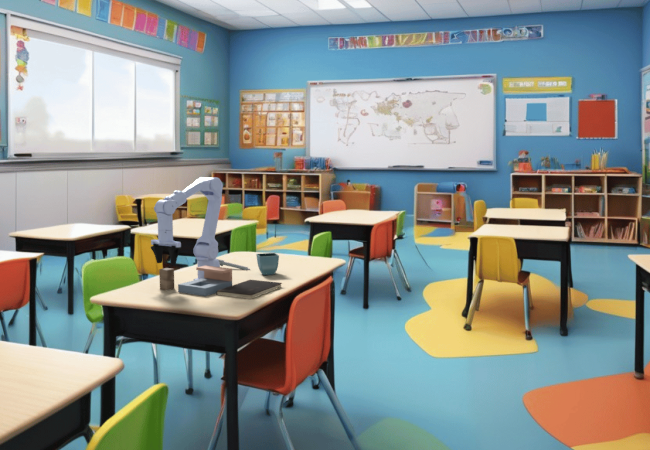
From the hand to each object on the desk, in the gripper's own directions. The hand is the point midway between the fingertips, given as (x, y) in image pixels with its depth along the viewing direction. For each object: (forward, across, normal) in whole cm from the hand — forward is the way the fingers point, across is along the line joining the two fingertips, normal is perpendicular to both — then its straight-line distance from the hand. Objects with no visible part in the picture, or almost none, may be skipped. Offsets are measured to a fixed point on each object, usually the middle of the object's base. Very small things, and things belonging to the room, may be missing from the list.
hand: (166, 263), depth 240 cm
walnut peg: (+10, 0, 0) cm, 10 cm away
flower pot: (+10, +17, +45) cm, 49 cm away
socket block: (+10, +15, +6) cm, 19 cm away
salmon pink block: (+7, +15, +11) cm, 20 cm away
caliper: (+10, -6, +46) cm, 48 cm away
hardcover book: (+11, +31, +14) cm, 36 cm away
